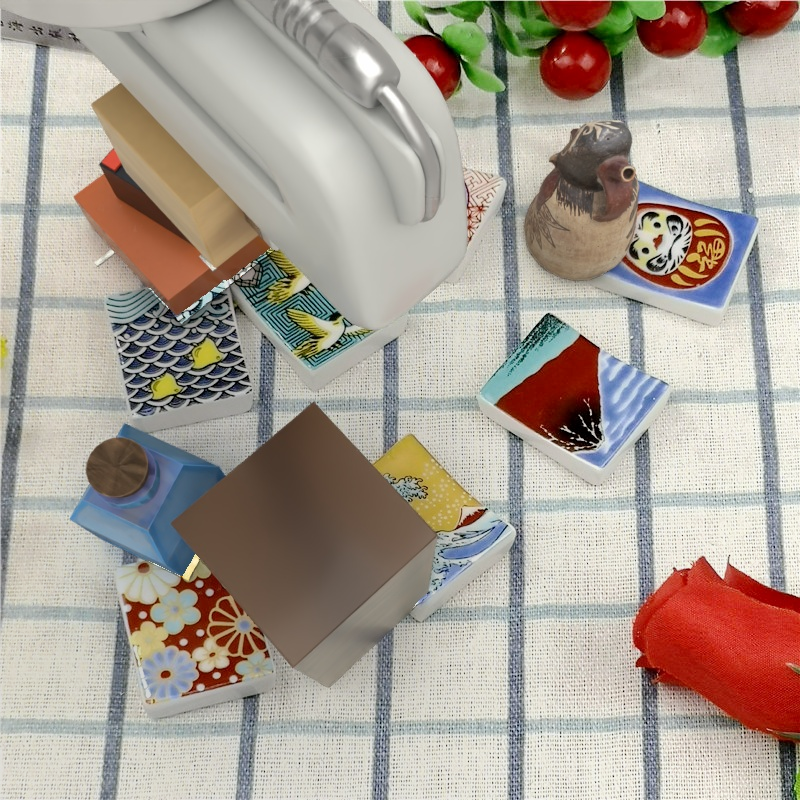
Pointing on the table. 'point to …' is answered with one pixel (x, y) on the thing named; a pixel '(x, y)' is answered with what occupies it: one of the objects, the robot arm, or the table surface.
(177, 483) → the perfume bottle
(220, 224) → the wood block
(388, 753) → the table surface
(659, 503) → the table surface
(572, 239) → the figurine
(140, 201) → the black battery block
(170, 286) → the block
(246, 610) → the block
